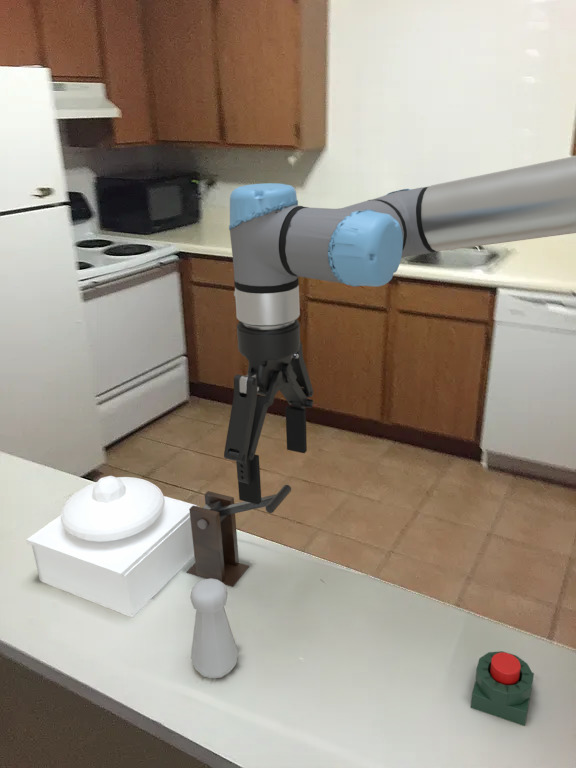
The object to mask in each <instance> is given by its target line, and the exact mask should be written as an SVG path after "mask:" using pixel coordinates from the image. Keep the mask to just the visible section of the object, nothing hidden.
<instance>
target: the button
mask: <svg viewBox="0 0 576 768" xmlns="http://www.w3.org/2000/svg"><path fill="white" fill-rule="evenodd" d="M503 652H504V651H503ZM503 652H502V653H497V654H495V655H494V656H493V657H492V660H491V668H490V673H491V676H492V677H493V679H494V680H495V681H497V682H498V683H501V684H504V685H513V684H515V683H516V682H517V681H518V680H519V676H520V668H521V665H520V662H519V660H518V659H517V658H516V657H515V656H513V655H514V654H513V655H511V654H512V653H510V652H506V653H503ZM509 653H510V654H509Z"/></svg>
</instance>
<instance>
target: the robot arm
mask: <svg viewBox="0 0 576 768" xmlns="http://www.w3.org/2000/svg"><path fill="white" fill-rule="evenodd" d="M228 230H229V236H230V245H231V254H232V256H231V257H232V264H233V276H234V278H233V283H234V291H233V297H234V298H235V309H236V310H235V313H236V319H237V320H238V323H237V324H236V336H237V350H238V352H239V354H241V355H242V356H243V357H244V358H245V359H246V360H247V361H248V368H247V374H245V375H242V374H235V375H234V377H233V398H232V404H231V410H230V416H229V422H228V427H227V434H226V440H225V446H224V452H223V458H224V459H226V460H229V461H234V462H235V463H236V477H237V485H238V499H239V501H241V502H245V501H246V502H250V503H254V504H258V505H259V504H260V503H261V502H262V501H261V498H262V485H261V468H260V455H259V454H256V452H257V448H258V445H259V441H260V439H261V438H260V437H261V434H262V429H263V426H264V423H265V420H266V415H267V412H268V408H269V407H271V406H272V405H273V404H274V401H275V397H276V395H277V394H278V392H280V394H281V395H282V396H283V398H284V399H285V400H286V401H287V403H288V405H287V406H286V407H285V409H284V410H285V431H286V450H287V451H291V452H296V453H301V454H306V453H307V450H308V447H307V445H308V443H307V439H308V438H307V409H306V408H309V409H312V407H313V405H314V400H313V399H311V398H312V397H313V395H314V389H313V386H312V382H311V379H310V375H309V372H308V369H307V366H306V362H305V359H304V358H305V357H304V354H303V353H304V352H303V343H302V342H301V325H300V324H301V323H300V321H299V320H298V318H300V316H301V305H300V285H299V284H300V283H299V278H306V279H311V280H319V281H324V282H331V283H338V284H345V285H346V286H351V287H361V286H362V287H382V286H384V285H386V284H388V283H389V282H390V281H391V280H392V279H393V277H394V274H395V273H396V272H397V271H398V269H399V267H400V264H401V261H402V258H407V257H413V256H420V255H428V254H433V253H439V252H444V251H451V250H458V249H459V250H460V249H466V248H474V247H475V248H476V247H482V246H488V245H489V246H491V245H497V244H505V243H511V242H518V241H519V242H520V241H526V240H533V239H542V238H549V237H557V236H564V235H572V234H573V235H574V234H576V155H573V156H569V157H564V158H558V159H553V160H549V161H543V162H539V163H534V164H530V165H523V166H520V167H514V168H511V169H506V170H505V169H504V170H500V171H499V170H498V171H495V172H490V173H486V174H479V175H475V176H470V177H466V178H461V179H456V180H450V181H446V182H441V183H436V184H431V185H428V186H423V187H422V186H421V187H416V188H404V189H398V190H395V191H391V192H388V193H387V194H385V195H382V196H379V197H375V198H372V199H368V200H364V201H361V202H357V203H354V204H350V205H348V206H347V205H346V206H344V207H341V208H339V207H338V208H328V207H327V208H326V207H325V208H324V207H309V206H303V205H299V200H298V195H297V191H296V189H295V187H293V185H290V184H286V183H276V182H275V183H274V182H273V183H272V182H271V183H270V182H269V183H251V184H245V185H241V186H238V187H236V188H234V189H233V190H232V191H231V193H230V196H229V226H228ZM290 405H291V406H290Z"/></svg>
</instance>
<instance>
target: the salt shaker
mask: <svg viewBox="0 0 576 768" xmlns="http://www.w3.org/2000/svg"><path fill="white" fill-rule="evenodd" d="M227 601H228V589H227V587H226V585H225V584H224V583H222V582H221V581H219V580H217V579H212V578H210V579H205V578H203V579H202V580H200V581H198V582H196V584H194V585H193V586H192V588H191V591H190V602H191V604H192V607H193V609H194V610H195V617H194V618H195V619H194V626H193V635H192V644H191V652H190V659H191V663H192V665H193V667H194V670H195V671H197V672H198V673H199V674H200V675H201V676H202V677H203V678H209V679H218V678H220V679H222V678H223V677H224V676H226V675H228V674H230V673H231V672H232V670H233V669H235V667H236V665H237V661H238V657H239V649H238V645H237V643H236V640H235V636H234V634H233V631H232V628H231V625H230V622H229V619H228V615H227V612H226V608H225V606H226V605H227Z"/></svg>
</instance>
